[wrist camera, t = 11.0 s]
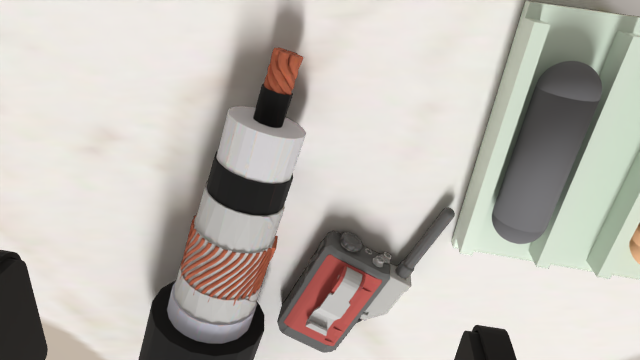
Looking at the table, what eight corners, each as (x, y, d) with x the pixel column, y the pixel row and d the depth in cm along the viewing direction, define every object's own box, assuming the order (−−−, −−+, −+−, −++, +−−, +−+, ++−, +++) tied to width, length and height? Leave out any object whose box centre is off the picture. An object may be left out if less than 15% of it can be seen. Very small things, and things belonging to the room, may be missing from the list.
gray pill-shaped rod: (538, 51, 32) (557, 63, 28) (596, 59, 31) (624, 73, 28) (481, 221, 38) (491, 249, 34) (529, 229, 38) (544, 258, 34)
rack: (525, 0, 31) (539, 5, 28) (800, 39, 30) (843, 48, 27) (451, 241, 40) (456, 263, 38) (661, 277, 39) (682, 302, 37)
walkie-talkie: (348, 349, 48) (460, 207, 39) (345, 384, 44) (469, 235, 35) (273, 313, 47) (371, 159, 38) (263, 346, 43) (369, 183, 34)
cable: (324, 53, 39) (379, 89, 31) (226, 350, 51) (247, 433, 43) (206, 18, 34) (234, 50, 26) (130, 354, 47) (132, 447, 38)
